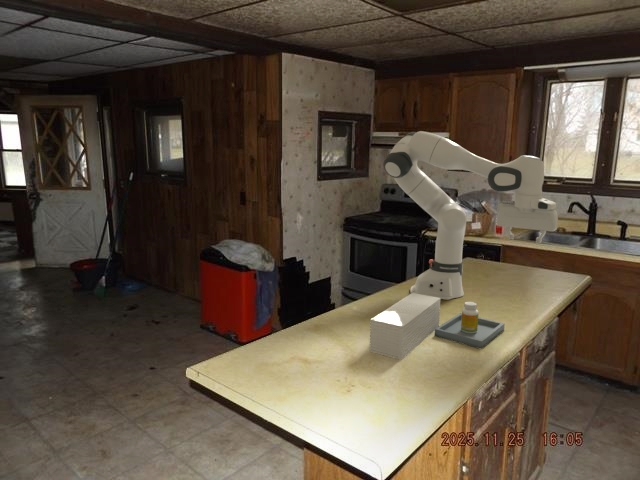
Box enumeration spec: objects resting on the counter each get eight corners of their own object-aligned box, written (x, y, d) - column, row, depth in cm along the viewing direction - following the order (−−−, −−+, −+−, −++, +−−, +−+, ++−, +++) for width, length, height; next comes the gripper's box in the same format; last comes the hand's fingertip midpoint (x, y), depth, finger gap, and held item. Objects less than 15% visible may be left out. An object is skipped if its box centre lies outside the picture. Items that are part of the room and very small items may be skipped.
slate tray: (481, 348, 149) (481, 341, 149) (434, 335, 160) (434, 328, 159) (504, 330, 164) (504, 323, 164) (460, 319, 175) (460, 313, 174)
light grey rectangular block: (401, 360, 142) (402, 326, 140) (369, 352, 148) (370, 319, 146) (439, 327, 168) (440, 297, 166) (410, 321, 174) (411, 292, 172)
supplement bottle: (478, 334, 159) (480, 306, 157) (461, 333, 160) (463, 305, 158) (476, 328, 164) (478, 301, 162) (460, 327, 165) (461, 300, 163)
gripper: (495, 200, 172) (492, 238, 174) (556, 205, 159) (552, 246, 161) (501, 199, 176) (498, 236, 179) (561, 203, 163) (557, 243, 166)
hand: (524, 240), depth 170 cm, fingers open, 8 cm apart
